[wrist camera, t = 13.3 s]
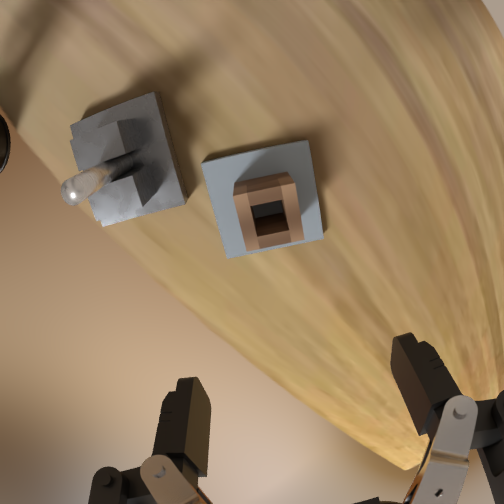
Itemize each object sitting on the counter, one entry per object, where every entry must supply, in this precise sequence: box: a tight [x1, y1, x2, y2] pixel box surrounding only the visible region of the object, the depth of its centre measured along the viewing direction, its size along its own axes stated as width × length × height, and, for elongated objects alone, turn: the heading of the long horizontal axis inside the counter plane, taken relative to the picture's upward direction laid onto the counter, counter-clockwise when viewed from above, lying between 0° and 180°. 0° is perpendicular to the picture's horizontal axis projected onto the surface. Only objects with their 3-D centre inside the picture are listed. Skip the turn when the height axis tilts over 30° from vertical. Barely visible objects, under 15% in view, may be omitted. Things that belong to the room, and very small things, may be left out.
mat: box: [201, 140, 324, 259], centre depth 33 cm, size 11×11×1 cm
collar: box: [233, 172, 305, 252], centre depth 30 cm, size 6×6×5 cm
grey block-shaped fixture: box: [61, 92, 188, 227], centre depth 25 cm, size 12×10×13 cm
